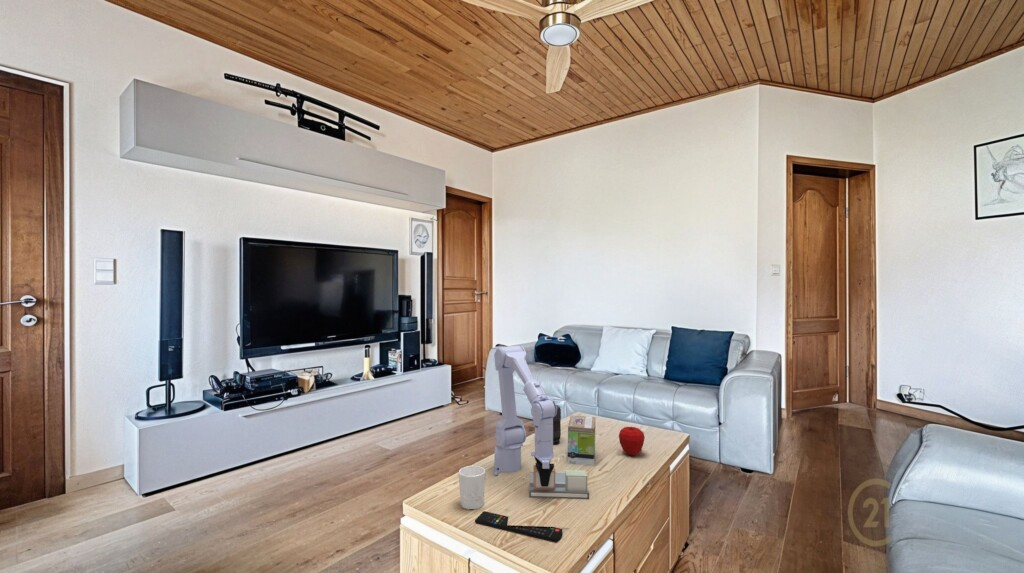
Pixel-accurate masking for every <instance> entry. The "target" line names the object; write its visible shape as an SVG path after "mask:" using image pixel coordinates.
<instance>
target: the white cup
mask: <svg viewBox="0 0 1024 573" xmlns="http://www.w3.org/2000/svg"><path fill="white" fill-rule="evenodd" d="M458 479H459V480H458V482H459V484H458V485H459V496H460V506H461V505H462V506H461V507H462V508H463V507H464V508H463V509H465V508H466V509H465V510H469V509H474V510H478V509H481V508H482V507H483V506H484V503H485V502H484V501H485V487H486V486H485V485H486V469H485V468H484V467H482V466H479V465H468V466H467V465H466V466H463V467H461V468H460V469H459V470H458Z"/></svg>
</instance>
